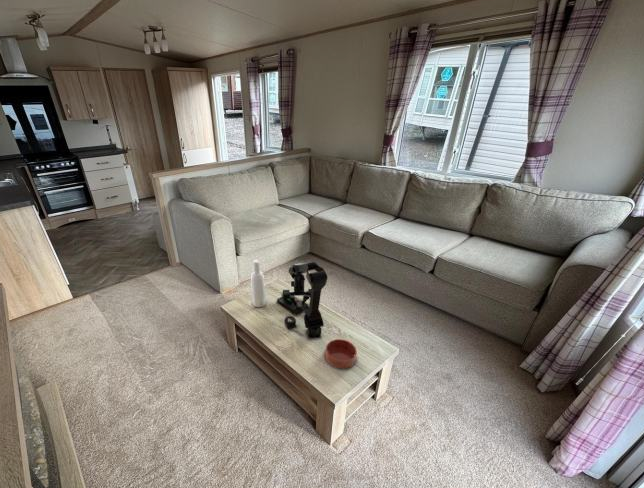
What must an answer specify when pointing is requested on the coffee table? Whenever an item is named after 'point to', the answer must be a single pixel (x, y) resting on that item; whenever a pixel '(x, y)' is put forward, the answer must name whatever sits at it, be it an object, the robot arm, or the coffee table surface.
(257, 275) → the bottle
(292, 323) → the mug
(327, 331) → the coffee table surface
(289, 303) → the stove
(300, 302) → the stove knob
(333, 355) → the red bowl
